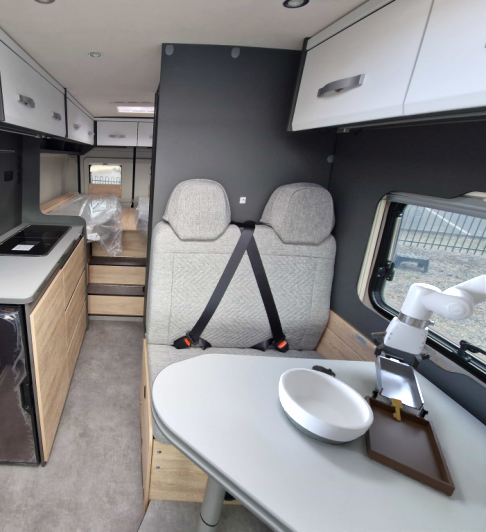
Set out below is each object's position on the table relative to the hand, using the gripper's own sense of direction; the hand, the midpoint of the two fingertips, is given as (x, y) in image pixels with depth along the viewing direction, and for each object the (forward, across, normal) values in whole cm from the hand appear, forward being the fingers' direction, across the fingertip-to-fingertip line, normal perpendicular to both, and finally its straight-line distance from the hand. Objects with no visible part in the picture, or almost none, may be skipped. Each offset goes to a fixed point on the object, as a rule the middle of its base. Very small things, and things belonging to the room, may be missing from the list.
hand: (393, 362), depth 108 cm
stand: (+5, 0, +22) cm, 23 cm away
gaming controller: (+5, +20, +20) cm, 28 cm away
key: (+3, +1, +24) cm, 24 cm away
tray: (+6, 0, +35) cm, 35 cm away
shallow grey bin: (+1, 0, +10) cm, 11 cm away
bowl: (+5, +20, +41) cm, 46 cm away
